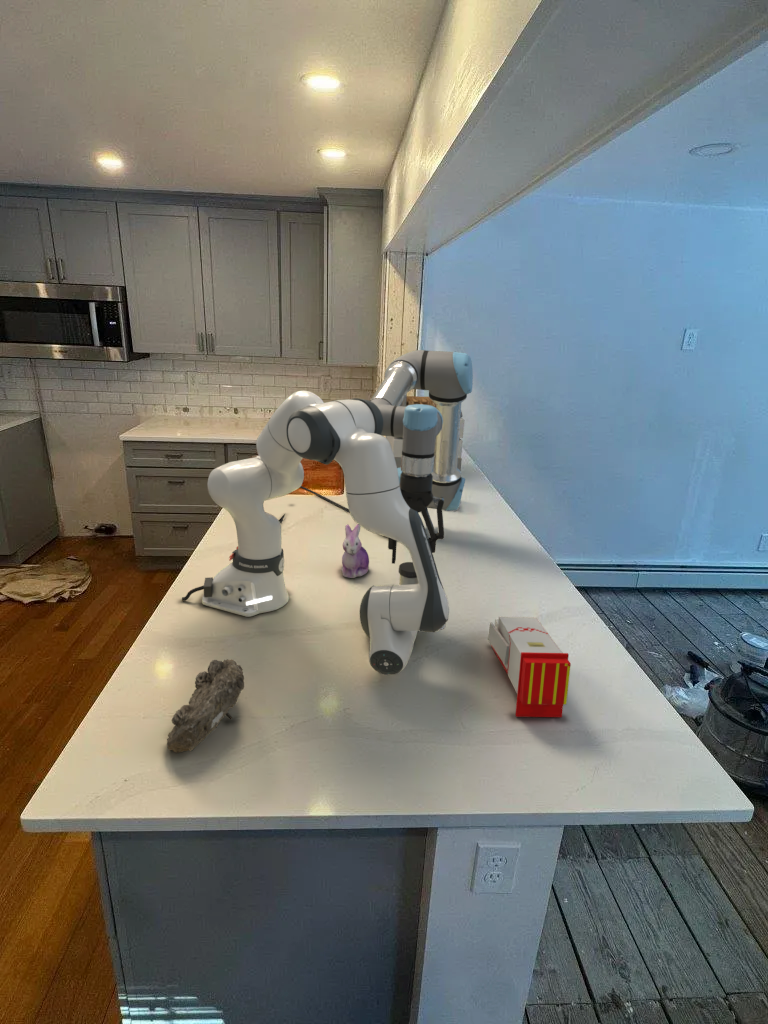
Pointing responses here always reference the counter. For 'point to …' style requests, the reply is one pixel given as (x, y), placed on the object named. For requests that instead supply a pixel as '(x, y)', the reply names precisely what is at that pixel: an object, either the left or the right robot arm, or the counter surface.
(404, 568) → the lid
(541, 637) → the toy
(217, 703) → the fossil
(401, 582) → the thermos bottle
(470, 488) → the counter surface
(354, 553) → the figurine
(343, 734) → the counter surface
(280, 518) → the feather
